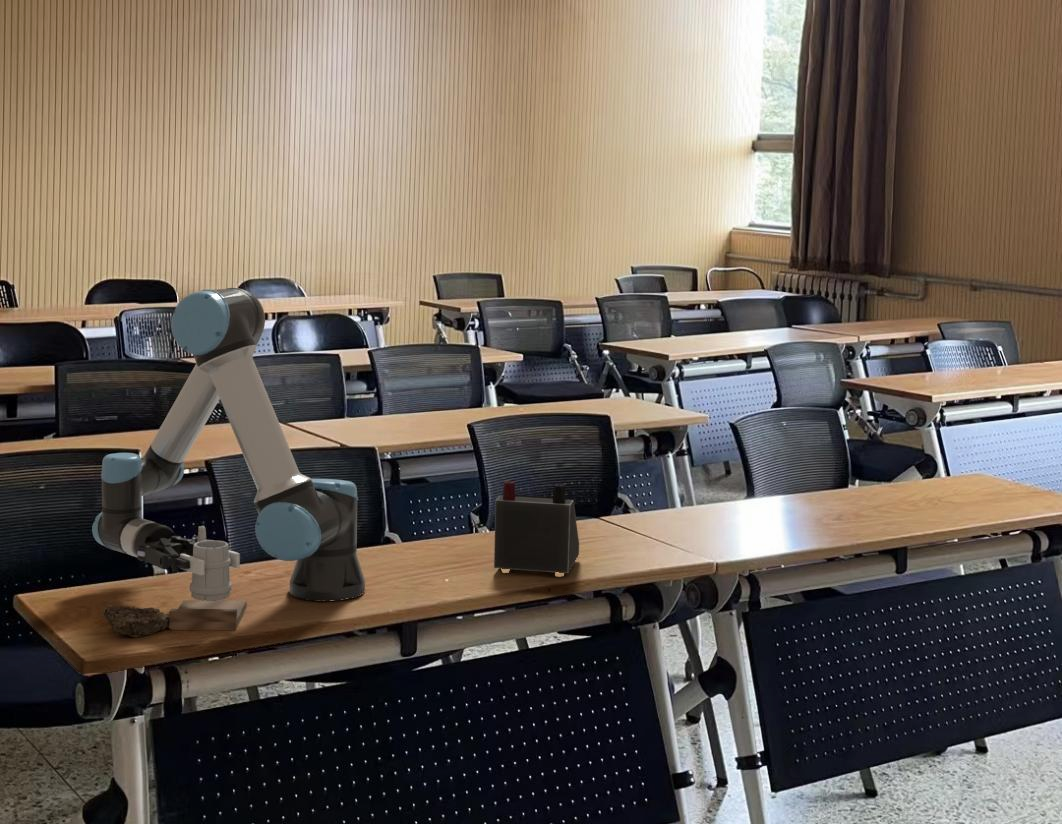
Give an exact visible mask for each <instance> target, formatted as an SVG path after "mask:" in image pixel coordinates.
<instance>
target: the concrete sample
mask: <svg viewBox="0 0 1062 824" xmlns="http://www.w3.org/2000/svg"><path fill="white" fill-rule="evenodd" d="M102 613H103V617H104V619H105V620H107V623H109V624H110V625H111V626H112V627H113V633H114V634H117V635H120V636H121V635H122V636H123V635H126V636H129V637H132V638H138V636H139V637H145V636H148V635H147V634H149V635H151V634H150V633H153V634H155V633H157V632H160V631H163V630H165V629H166V628H169V614H168V615H167V614H166V613H165V612H163V611H160V609H158V608H155V607H152V606H151V607H147V608H141V607H140V608H139V607H135V606H132V607H131V606H126V607H125V606H123V605H120V606H115V605H111V604H109V605H107V606H105V608H104V610H103V611H102ZM154 632H155V633H154ZM144 635H145V636H144Z"/></svg>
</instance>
